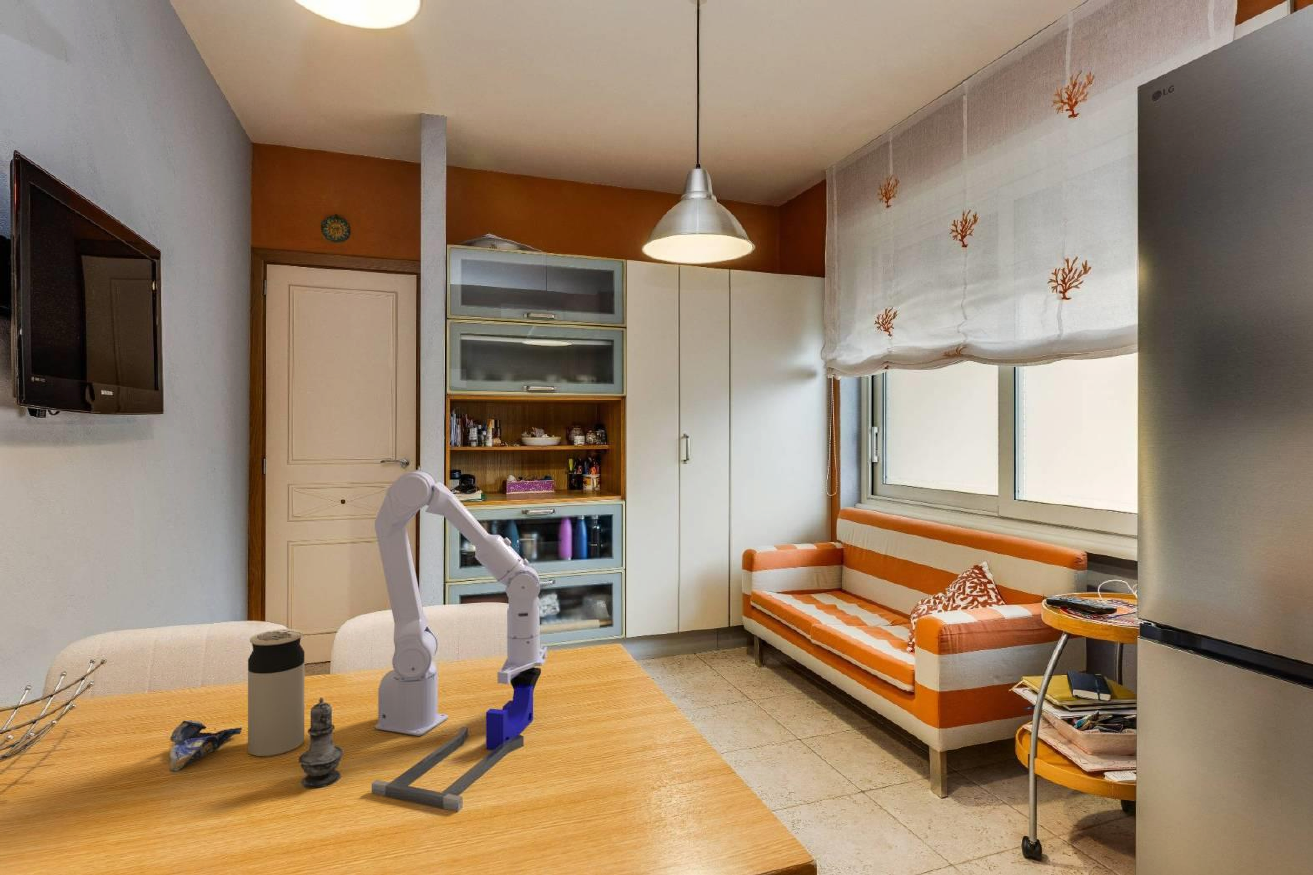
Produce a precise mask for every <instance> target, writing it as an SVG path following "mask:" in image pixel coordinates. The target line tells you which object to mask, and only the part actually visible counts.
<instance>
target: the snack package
mask: <svg viewBox="0 0 1313 875" xmlns="http://www.w3.org/2000/svg"><path fill="white" fill-rule="evenodd" d="M206 729H207V726H205V725H204V724H203V723H202V722H201V721H199V720H183V721H182V722H181V723H180V724H178V726H176V727H175V729H174V730H173V731H172V733H171V736H170V738H169V740H170V741H171V743H174V745H173V747H172V749H171V750H170V756H169V759H170V764H169V765H170V768H169V770H171V771H173V772H179V771H180V770H181V769H182V768H183V767H184V766H185V765H187V764H189V763H191V762H193V761H195V760H197V759H199V758H201V757H203V756H206V755H208V754H211V753H213V752H214V751H216V750H219V749H220V747H221V746H223V745H224V744H225V743H226V742H227V741H228V740H230V739H231V738H232V737H233V736H236V735H240V734H241V733H242V727H235V728H229V729H227V728H226V729H222V730H219V731H216V732H213V733H212V732H202V731H203V730H206ZM213 729H214V730H216V728H213ZM188 756H189V757H188ZM186 757H188V758H187V759H185V758H186ZM183 759H185V760H184V761H183V762H182V764H180V765H178V766H174V765H175V764H177V763H178V762H180V761H182V760H183Z"/></svg>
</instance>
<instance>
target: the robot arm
mask: <svg viewBox="0 0 1313 875" xmlns="http://www.w3.org/2000/svg"><path fill="white" fill-rule="evenodd" d="M425 506H427V508H426V510H425V513H429V514H433V515H437V516H443V517H444V518H445V519H446V520H447V521H448V522H449V523H450V524H451V525H452V526H453V527H454V528H456V530H457V531H458V532H459V533H460V534H462V536H463V537H464V538H465V539H466V540H468V542H470V543H471V544H472V545H473V546H474V547H475V551H474V552H475V553H474V554H475V555H474V558H475V559H476V560H477V561H478V562H479V564H481V565H482V566H483V568H484V569H485V570H486V571H487V572H488V573H489V574H490V575H491V576H492V577H493V578H494V579H495V580H496V581H497V582H498V583H499V584H503V586H505V592H506V593H505V594H506V596H507V598H508V607H507V610H506V631H507V632H506V634H507V636H506V640H507V641H506V645H507V646H506V651H507V653H506V654H507V658H506V660H505V662H504V664H503V665H502V667H501V668H500V669H499V670H498V671H497V684H500V685H501V684H502V685H503V684H504V685H508V684H511V686H512V688H513V690H514V687H515V686H516V685H517V684H518V685H529V686H533V692H534V691H535V687H536V685H537V682H538V680H539V678H540V676H541V674H542V669H541V668H540V667H542V666H544V665H545V664H546V658H548V647H547V646H540V645H541V644H540V643H541V642H540V638H541V637H540V636H541V635H540V633H541V632H540V631H541V630H540V624H541V623H540V620H541V619H540V607H539V603H540V602H539V601H540V598H539V594H540V592H541V585H540V577H539V575H538V572H537V571H536V569H535V567H534V566H533V565H531V564H529V560H528V559H527V558H524V559H523V558H522V557H521V556H520V555H519V553H517V552H516V550H515V549H513V547H512V546H511V544H512V541H511V540H510V539H509V538H508V537H505V538H504V537H502V536H501V535H500V534H490V533H488V532H487V531H486V529H485V528H484V527H483V526H482V524H480V522H479V521H478V520H477V519H476V518H475V517H474V516H473V515H472V513H471V512H470V511H469V510H468V508H466V506H464V504H463V503H462V502H461V500H460V499H459V498H458V497H457V496H456V495H455V494H454V493H453V492H452V490H450V489H449V488H448V487H447V486H446V485H445V484H443V483H442V482H440V481H437V479H436V477H435V476H434V475H433V474H432V473H431V472H429V471H427V470H424V469H417V470H416V469H415V470H413V471H411V472H406V473H404V474H402V475H400V476H399V477H397V479H396V480H394V482H393V483H392V484H391V485H390V486H389V487H388V488H387V489H386V492H385V496H384V499H383V501H382V503H381V506H380V508H379V511H378V513H377V515H376V518H375V520H374V530H375V535H376V539H377V544H378V550H379V554H380V559H381V563H382V564H381V565H382V568H383V574H384V579H385V585H386V588H387V593H388V598H389V602H390V608H391V613H392V617H393V618H392V619H393V623H394V628H393V629H394V630H393V643H394V652H393V655H392V659H391V664H392V669H391V670H390V671H388V672H386V673H385V674H384V675H383V676H382V678H381V680H380V682H379V685H378V692H377V695H378V700H377V703H378V704H377V705H378V706H377V707H378V709H377V710H378V711H377V712H378V713H377V715H378V716H377V719H378V721H377V724H375V725H374V729H376V730H382V731H387V732H388V731H389V732H395V733H400V734H406V735H413V736H417V737H419V736H420V737H421V736H422V735H424V734H426V733H427V732H429V731H431V729H433V728H435V727H437V726H438V725H439V724H441V723H442V722H444V721H445V720H447V719H448V718H449V715H448V714H445V713H438V707H439V706H438V701H439V700H438V692H439V691H438V690H439V689H438V686H439V685H438V681H439V679H438V677H439V673H438V670H439V668H438V665H437V664H435V662H434V660H433V658H434V656H435V655H436V653H437V651H438V648H439V642H438V638H437V636H436V634H435V633H434V632H433V631H432V629H431V628H430V624H429V621H428V618H427V617H426V615H425V613H424V608H423V605H422V603H423V602H422V598H421V594H420V589H419V584H418V578H417V573H416V569H415V563H414V559H413V555H412V549H411V543H410V541H409V534H408V529H407V527H408V524H410V522H411V521H412V520H413V518H414V517H415V516H416V514H417V513H418V511H419V510H421V509H422V508H424V507H425Z"/></svg>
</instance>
